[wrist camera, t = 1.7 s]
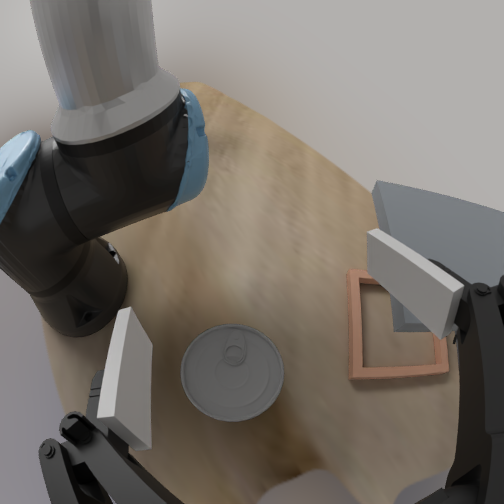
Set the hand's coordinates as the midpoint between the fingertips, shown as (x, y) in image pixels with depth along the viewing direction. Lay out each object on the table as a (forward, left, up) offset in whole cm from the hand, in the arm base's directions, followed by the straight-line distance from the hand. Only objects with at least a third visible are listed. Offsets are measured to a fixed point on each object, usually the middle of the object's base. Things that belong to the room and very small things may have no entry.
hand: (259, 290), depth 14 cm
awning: (+19, +5, -19) cm, 28 cm away
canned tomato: (-1, -3, -20) cm, 20 cm away
